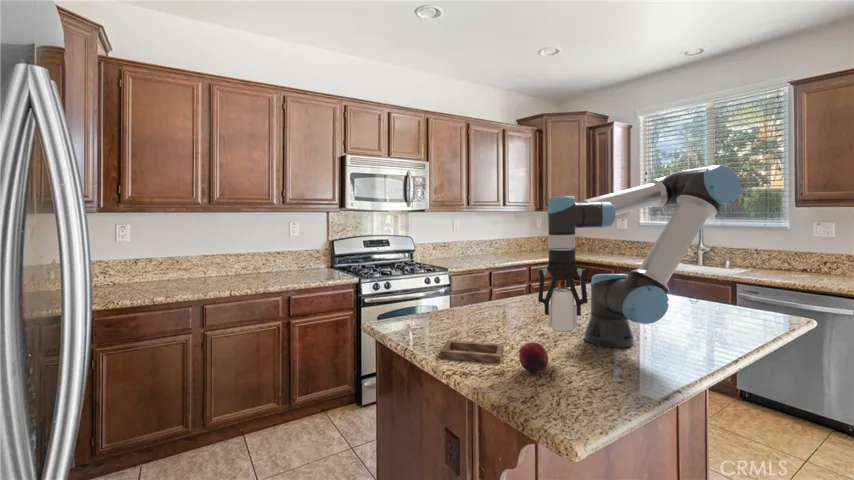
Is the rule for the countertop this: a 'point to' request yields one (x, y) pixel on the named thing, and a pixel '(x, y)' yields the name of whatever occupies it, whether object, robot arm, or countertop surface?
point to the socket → (472, 356)
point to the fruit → (533, 357)
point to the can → (562, 310)
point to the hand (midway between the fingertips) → (562, 325)
